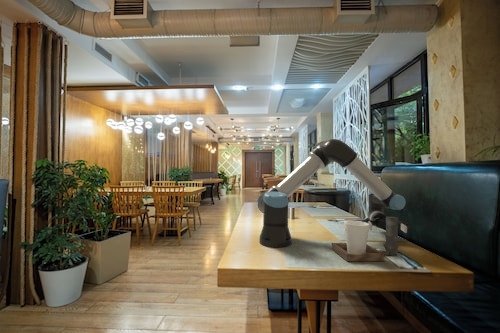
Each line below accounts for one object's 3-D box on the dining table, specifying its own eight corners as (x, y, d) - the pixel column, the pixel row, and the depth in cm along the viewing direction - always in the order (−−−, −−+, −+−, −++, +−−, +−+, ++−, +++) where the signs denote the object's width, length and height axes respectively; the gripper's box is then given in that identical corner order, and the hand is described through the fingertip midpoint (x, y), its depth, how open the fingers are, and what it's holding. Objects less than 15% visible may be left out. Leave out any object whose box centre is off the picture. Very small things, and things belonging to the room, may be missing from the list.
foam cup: (349, 249, 106) (349, 219, 106) (372, 255, 99) (372, 223, 99) (339, 255, 99) (340, 222, 99) (363, 261, 92) (363, 226, 93)
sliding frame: (347, 261, 91) (347, 221, 92) (331, 248, 106) (331, 214, 106) (407, 260, 93) (407, 220, 93) (384, 248, 107) (384, 214, 107)
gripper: (406, 228, 124) (421, 239, 104) (353, 224, 132) (357, 234, 112) (406, 213, 124) (421, 222, 104) (353, 210, 132) (357, 218, 112)
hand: (388, 228), depth 108 cm, fingers open, 13 cm apart
